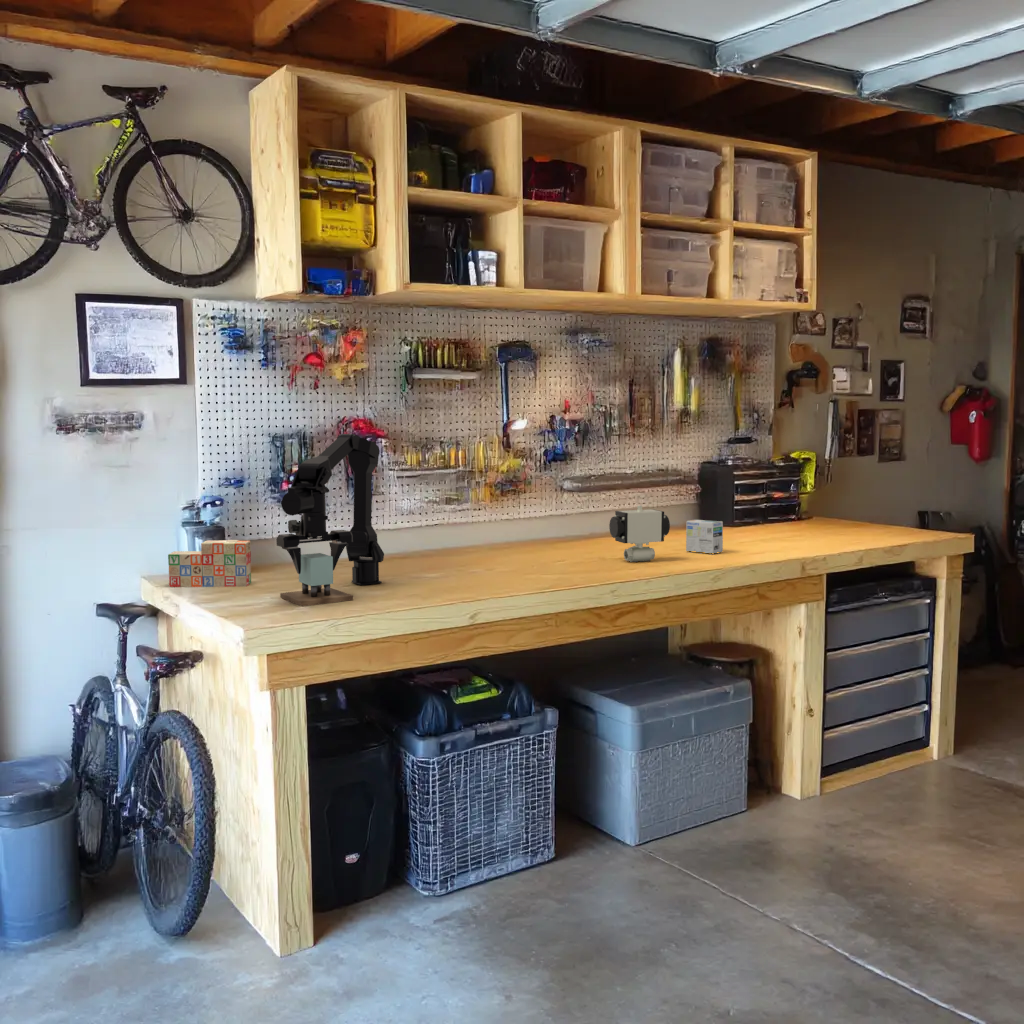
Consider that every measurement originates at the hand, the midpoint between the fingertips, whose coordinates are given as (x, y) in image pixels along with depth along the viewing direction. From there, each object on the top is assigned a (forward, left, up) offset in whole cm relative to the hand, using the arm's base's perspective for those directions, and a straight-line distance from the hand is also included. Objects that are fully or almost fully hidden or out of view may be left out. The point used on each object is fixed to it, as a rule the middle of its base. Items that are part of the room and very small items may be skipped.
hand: (315, 571), depth 260 cm
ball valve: (-110, -1, -7) cm, 110 cm away
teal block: (0, 0, -3) cm, 3 cm away
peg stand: (0, 0, -7) cm, 7 cm away
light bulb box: (-141, -3, -7) cm, 141 cm away
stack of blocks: (+16, -37, -7) cm, 41 cm away
